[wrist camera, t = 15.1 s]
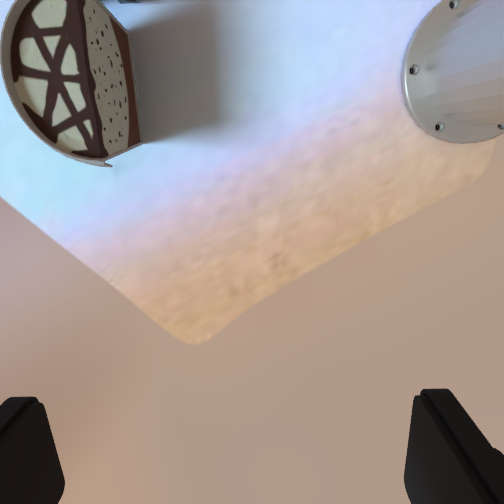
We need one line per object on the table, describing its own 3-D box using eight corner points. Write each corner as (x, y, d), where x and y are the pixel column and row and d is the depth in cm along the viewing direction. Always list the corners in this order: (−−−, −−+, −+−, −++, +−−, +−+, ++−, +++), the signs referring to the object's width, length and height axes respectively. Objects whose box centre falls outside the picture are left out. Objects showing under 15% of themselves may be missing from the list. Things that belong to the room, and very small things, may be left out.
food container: (57, 16, 31) (-33, -37, 21) (127, 13, 31) (67, -42, 21) (82, 161, 35) (15, 172, 25) (144, 160, 35) (101, 169, 25)
